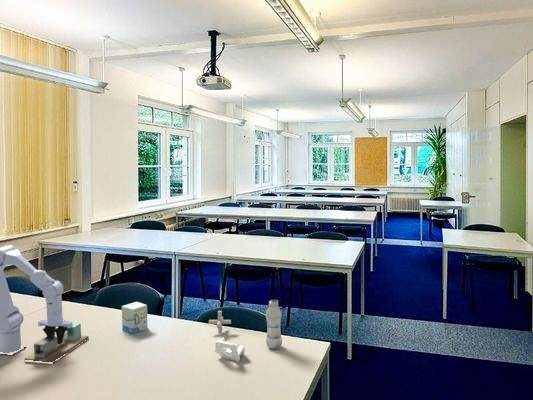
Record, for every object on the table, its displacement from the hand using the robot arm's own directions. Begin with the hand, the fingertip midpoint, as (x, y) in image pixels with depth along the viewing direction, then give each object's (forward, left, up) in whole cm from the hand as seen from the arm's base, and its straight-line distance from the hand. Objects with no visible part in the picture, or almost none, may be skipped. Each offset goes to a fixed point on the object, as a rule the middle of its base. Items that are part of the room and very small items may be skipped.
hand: (56, 343), depth 174 cm
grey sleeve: (0, -6, -2) cm, 6 cm away
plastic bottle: (+89, +17, -4) cm, 91 cm away
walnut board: (0, 0, -3) cm, 3 cm away
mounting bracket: (+72, +6, -4) cm, 73 cm away
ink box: (+21, +27, -4) cm, 35 cm away
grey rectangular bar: (0, -1, 0) cm, 1 cm away
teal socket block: (0, +10, -2) cm, 11 cm away
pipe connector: (+62, +29, -4) cm, 69 cm away
